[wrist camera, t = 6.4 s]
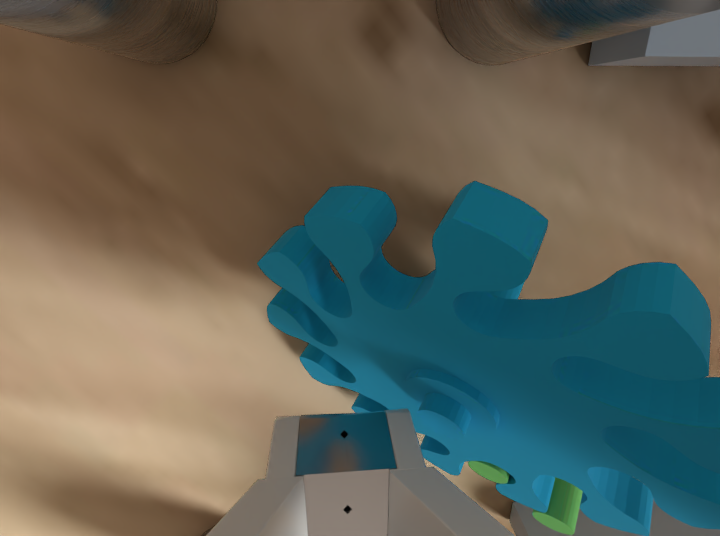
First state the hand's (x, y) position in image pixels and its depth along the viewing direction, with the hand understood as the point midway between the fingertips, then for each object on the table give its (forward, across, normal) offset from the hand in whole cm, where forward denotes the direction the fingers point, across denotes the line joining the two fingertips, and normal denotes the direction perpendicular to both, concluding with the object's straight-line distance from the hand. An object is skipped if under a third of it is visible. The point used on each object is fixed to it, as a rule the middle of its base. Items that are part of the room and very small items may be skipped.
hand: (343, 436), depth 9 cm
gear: (+4, +3, +1) cm, 5 cm away
